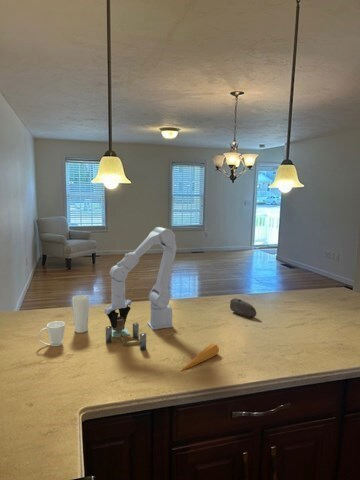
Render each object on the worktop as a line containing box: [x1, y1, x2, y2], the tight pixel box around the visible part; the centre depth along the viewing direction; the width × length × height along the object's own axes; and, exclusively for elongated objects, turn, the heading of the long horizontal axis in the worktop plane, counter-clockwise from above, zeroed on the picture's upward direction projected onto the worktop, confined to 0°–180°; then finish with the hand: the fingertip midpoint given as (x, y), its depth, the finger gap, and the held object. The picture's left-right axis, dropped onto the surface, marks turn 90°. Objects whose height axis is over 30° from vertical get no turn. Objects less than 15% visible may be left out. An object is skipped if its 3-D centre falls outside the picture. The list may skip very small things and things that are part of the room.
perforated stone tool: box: [229, 298, 257, 318], centre depth 176 cm, size 15×5×7 cm, turn 39°
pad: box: [112, 326, 131, 339], centre depth 152 cm, size 8×8×1 cm
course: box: [105, 322, 147, 351], centre depth 140 cm, size 14×15×6 cm
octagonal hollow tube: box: [112, 315, 126, 331], centre depth 151 cm, size 5×5×4 cm
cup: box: [38, 320, 66, 347], centre depth 139 cm, size 7×10×8 cm
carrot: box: [180, 343, 220, 372], centre depth 128 cm, size 20×4×4 cm, turn 137°
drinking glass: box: [71, 294, 90, 334], centre depth 152 cm, size 7×7×15 cm
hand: (118, 325), depth 151 cm, fingers closed on octagonal hollow tube, 5 cm apart
